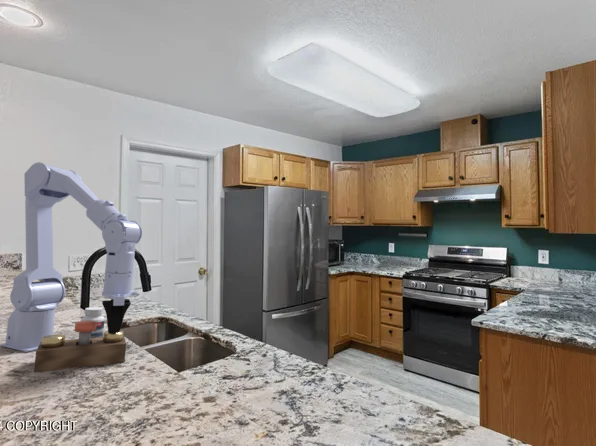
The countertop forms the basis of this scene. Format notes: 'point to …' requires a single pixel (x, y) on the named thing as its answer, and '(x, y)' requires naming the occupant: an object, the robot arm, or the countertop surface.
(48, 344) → the left brass button
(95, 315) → the pill bottle
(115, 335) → the right brass button
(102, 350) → the block
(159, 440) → the countertop surface
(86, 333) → the red knob
